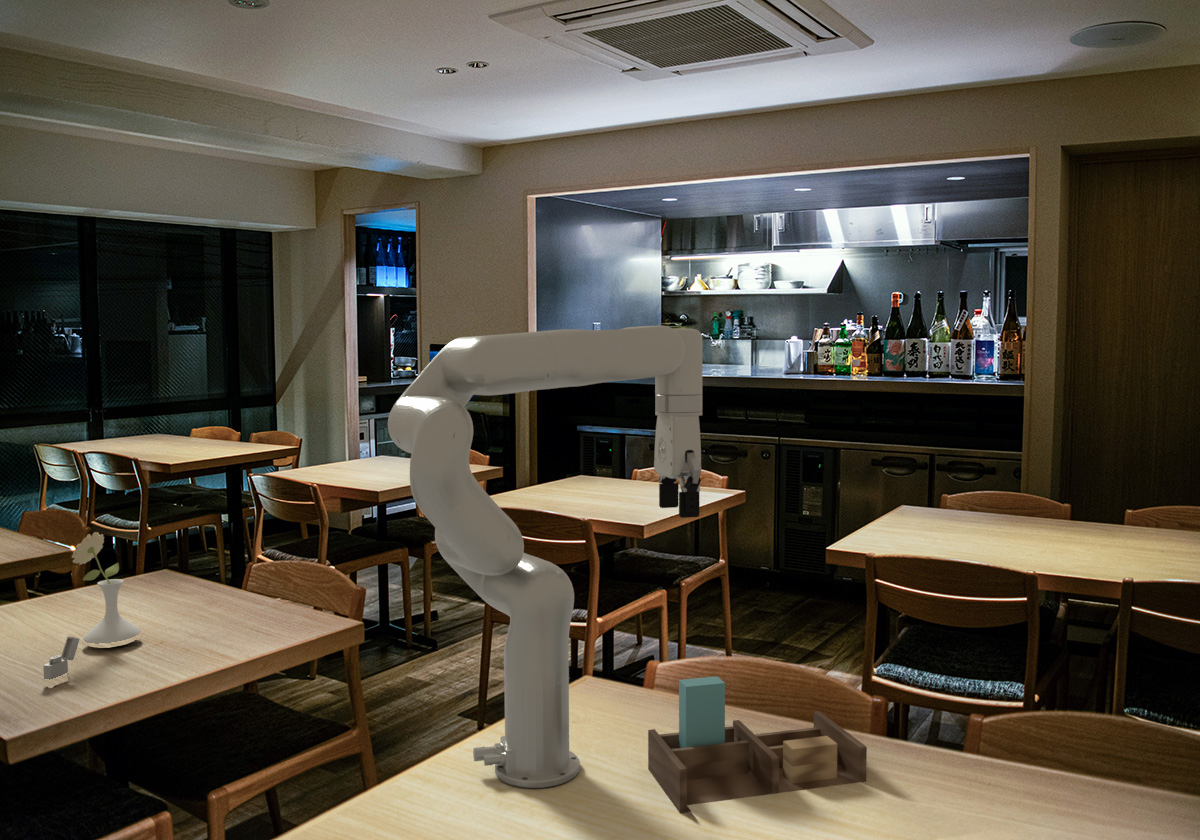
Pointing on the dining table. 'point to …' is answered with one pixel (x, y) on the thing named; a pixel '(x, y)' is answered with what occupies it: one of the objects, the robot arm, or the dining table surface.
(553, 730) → the robot arm
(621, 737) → the dining table surface
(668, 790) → the rack
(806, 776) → the offcut lower
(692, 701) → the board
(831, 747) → the offcut upper
